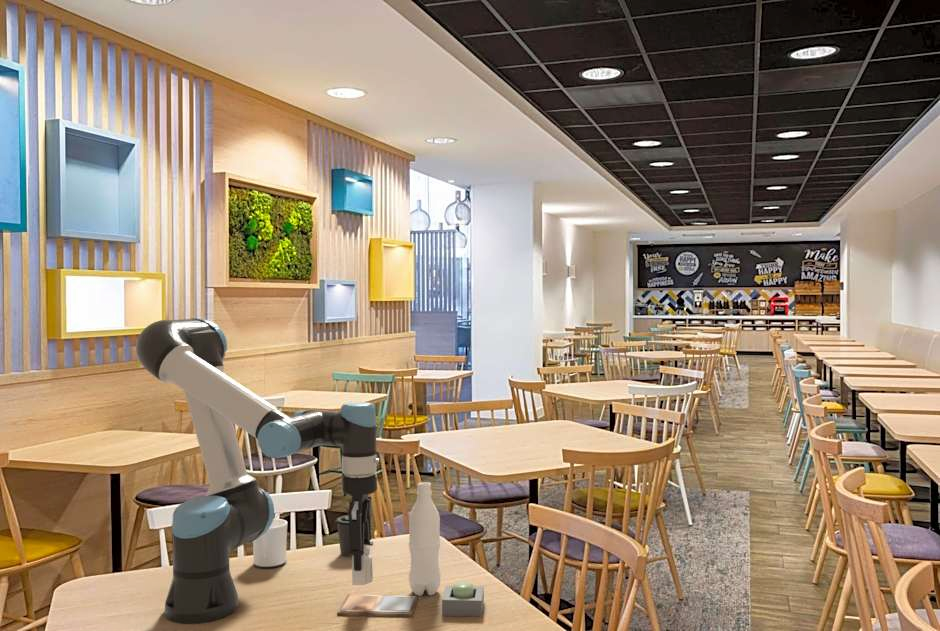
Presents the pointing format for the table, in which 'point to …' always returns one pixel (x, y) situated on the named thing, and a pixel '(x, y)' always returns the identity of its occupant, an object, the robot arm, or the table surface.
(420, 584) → the water bottle
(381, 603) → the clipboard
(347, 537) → the coffee cup
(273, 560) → the mug
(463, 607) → the button housing
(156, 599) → the table surface
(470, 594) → the button
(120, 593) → the table surface
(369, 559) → the pill bottle
